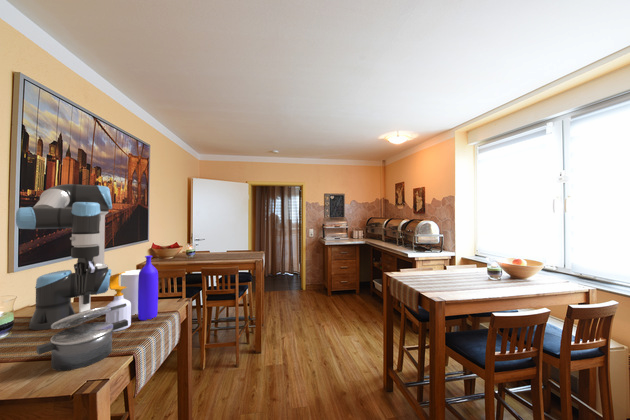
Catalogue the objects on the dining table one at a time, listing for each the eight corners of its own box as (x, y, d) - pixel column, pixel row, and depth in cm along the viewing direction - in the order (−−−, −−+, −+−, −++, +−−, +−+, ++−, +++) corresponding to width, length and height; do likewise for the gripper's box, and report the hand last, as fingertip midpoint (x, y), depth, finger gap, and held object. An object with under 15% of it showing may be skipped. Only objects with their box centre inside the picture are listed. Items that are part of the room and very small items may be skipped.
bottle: (154, 312, 135) (154, 254, 135) (160, 316, 130) (161, 255, 130) (135, 317, 129) (135, 256, 129) (141, 322, 123) (142, 257, 124)
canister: (118, 309, 139) (119, 271, 139) (148, 304, 148) (149, 268, 148) (122, 317, 129) (122, 276, 129) (154, 310, 138) (154, 272, 138)
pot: (29, 366, 88) (29, 339, 88) (116, 336, 109) (116, 314, 109) (46, 382, 79) (47, 352, 79) (137, 346, 101) (137, 323, 101)
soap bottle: (117, 333, 112) (118, 275, 113) (100, 331, 114) (100, 274, 114) (135, 324, 121) (136, 270, 121) (119, 322, 123) (119, 269, 123)
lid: (43, 334, 91) (43, 328, 92) (115, 314, 110) (114, 309, 110) (60, 319, 84) (59, 314, 84) (134, 300, 102) (133, 295, 103)
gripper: (64, 245, 94) (63, 312, 93) (79, 248, 87) (78, 320, 87) (91, 243, 100) (89, 306, 100) (106, 245, 93) (105, 312, 93)
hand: (84, 312), depth 93 cm, fingers closed
